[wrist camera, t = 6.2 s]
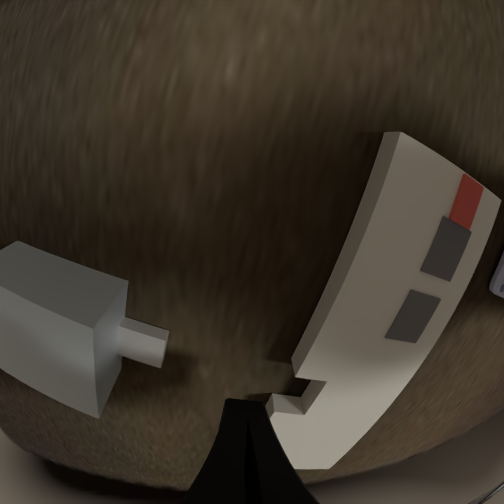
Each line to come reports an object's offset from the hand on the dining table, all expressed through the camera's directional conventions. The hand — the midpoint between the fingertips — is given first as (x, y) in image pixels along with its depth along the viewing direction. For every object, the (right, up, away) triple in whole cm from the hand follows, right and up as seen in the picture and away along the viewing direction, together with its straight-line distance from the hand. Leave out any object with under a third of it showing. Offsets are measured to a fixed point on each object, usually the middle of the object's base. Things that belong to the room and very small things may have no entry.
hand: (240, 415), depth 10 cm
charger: (-8, +4, +2) cm, 9 cm away
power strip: (+5, +1, +3) cm, 6 cm away
